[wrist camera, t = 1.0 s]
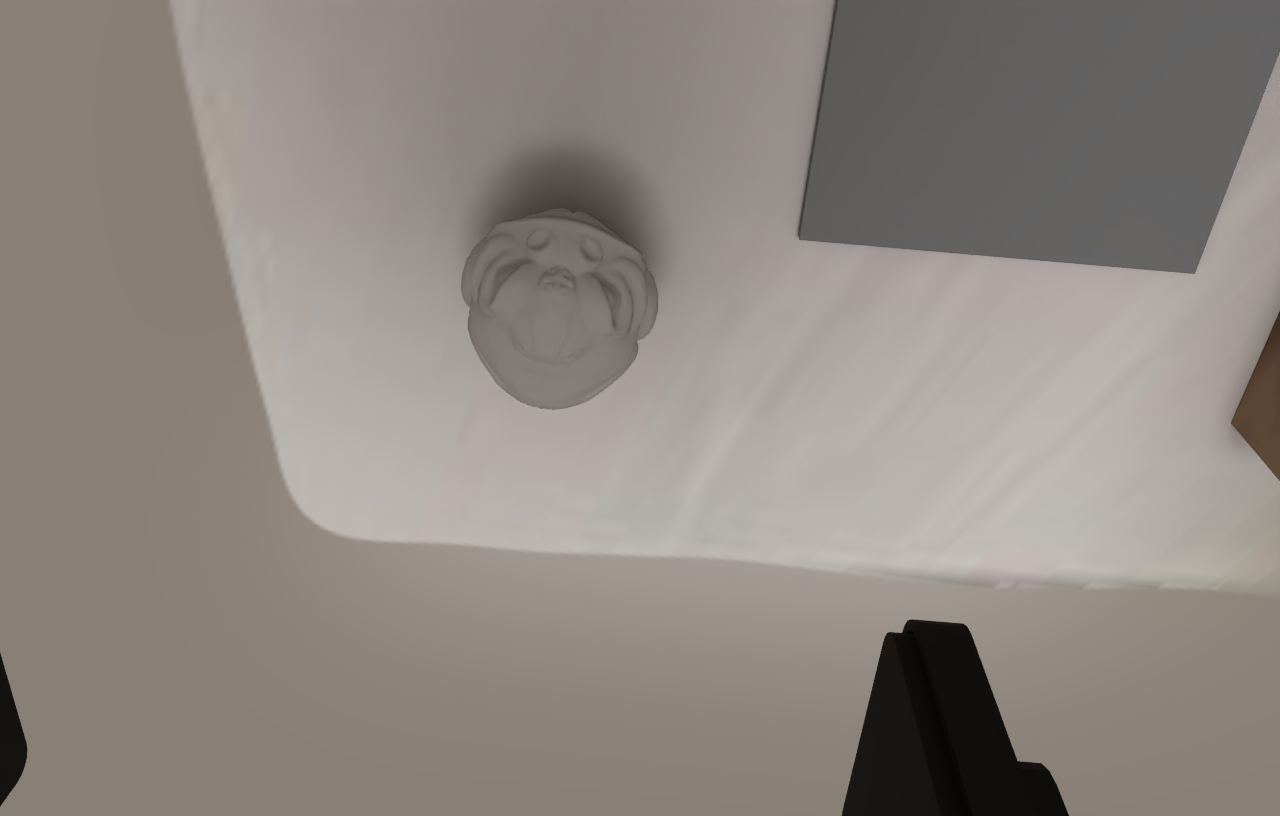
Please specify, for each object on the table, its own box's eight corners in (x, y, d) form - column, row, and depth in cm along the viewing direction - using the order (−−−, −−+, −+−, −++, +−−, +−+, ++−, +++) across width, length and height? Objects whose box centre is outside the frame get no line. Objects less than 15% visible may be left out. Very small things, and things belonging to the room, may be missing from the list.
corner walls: (757, -465, 25) (771, -516, 21) (1678, -385, 25) (1881, -419, 21) (671, 375, 37) (668, 452, 33) (1292, 428, 37) (1370, 512, 33)
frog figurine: (679, 176, 33) (676, 262, 27) (639, 362, 37) (628, 474, 31) (493, 139, 33) (449, 217, 27) (470, 331, 37) (427, 437, 31)
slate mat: (873, -225, 28) (875, -225, 27) (1360, -183, 28) (1368, -182, 27) (798, 234, 34) (799, 239, 34) (1189, 268, 34) (1194, 273, 34)
